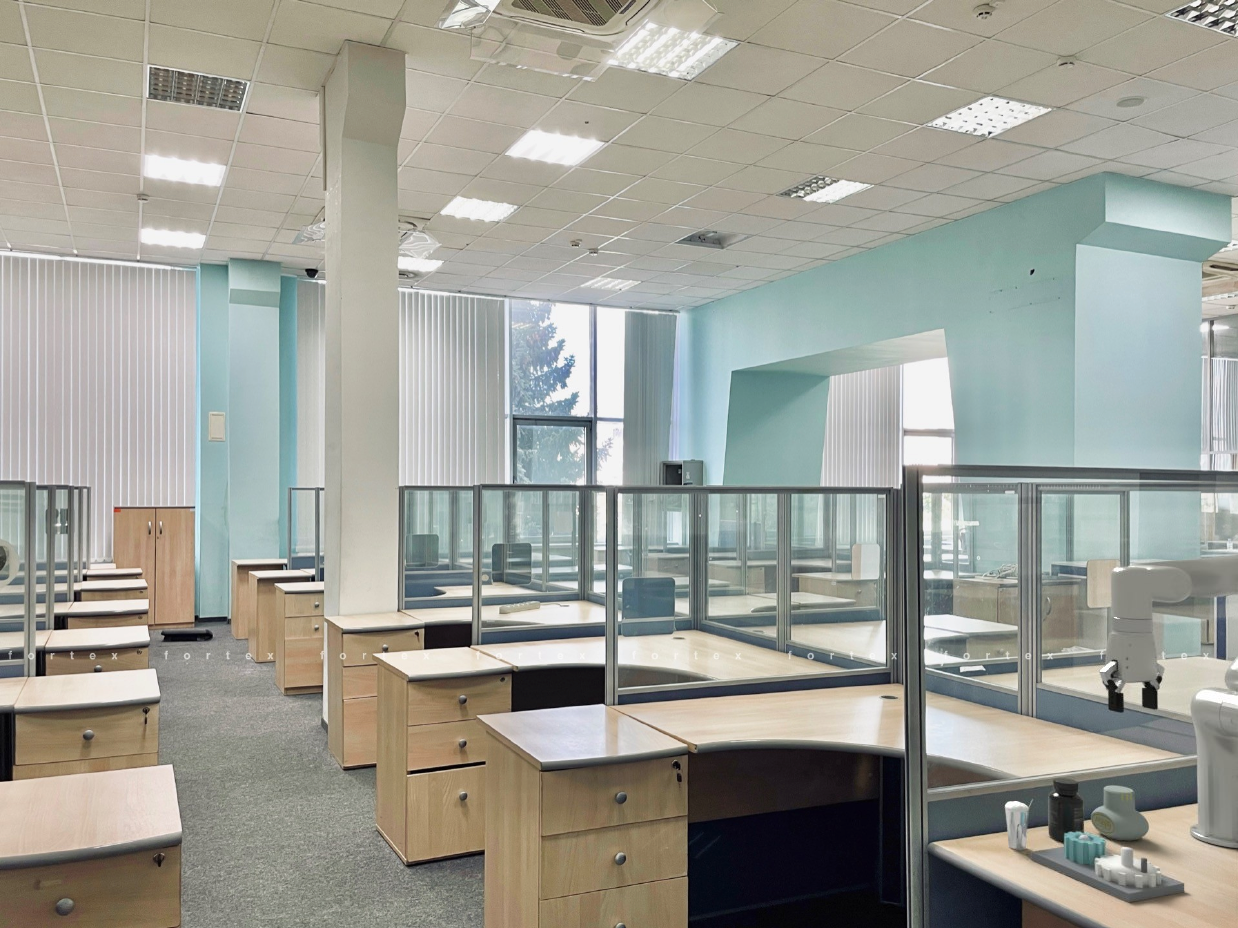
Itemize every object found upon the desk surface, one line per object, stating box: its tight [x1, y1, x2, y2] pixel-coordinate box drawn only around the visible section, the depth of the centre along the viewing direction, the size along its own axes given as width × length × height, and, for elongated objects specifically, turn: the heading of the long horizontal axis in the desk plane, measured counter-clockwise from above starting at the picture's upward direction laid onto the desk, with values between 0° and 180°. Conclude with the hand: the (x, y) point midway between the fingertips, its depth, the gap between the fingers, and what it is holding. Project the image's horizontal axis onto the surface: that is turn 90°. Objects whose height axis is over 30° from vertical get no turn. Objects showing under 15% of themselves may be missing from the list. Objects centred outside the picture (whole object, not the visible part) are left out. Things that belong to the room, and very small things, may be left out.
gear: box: [1063, 832, 1107, 866], centre depth 183 cm, size 7×7×4 cm
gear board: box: [1030, 835, 1185, 903], centre depth 179 cm, size 14×22×6 cm, turn 22°
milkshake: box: [1004, 798, 1034, 851], centre depth 193 cm, size 4×5×10 cm
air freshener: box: [1090, 785, 1150, 842], centre depth 201 cm, size 11×8×10 cm
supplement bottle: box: [1047, 777, 1085, 843], centre depth 199 cm, size 7×7×12 cm
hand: (1133, 709), depth 194 cm, fingers open, 9 cm apart
